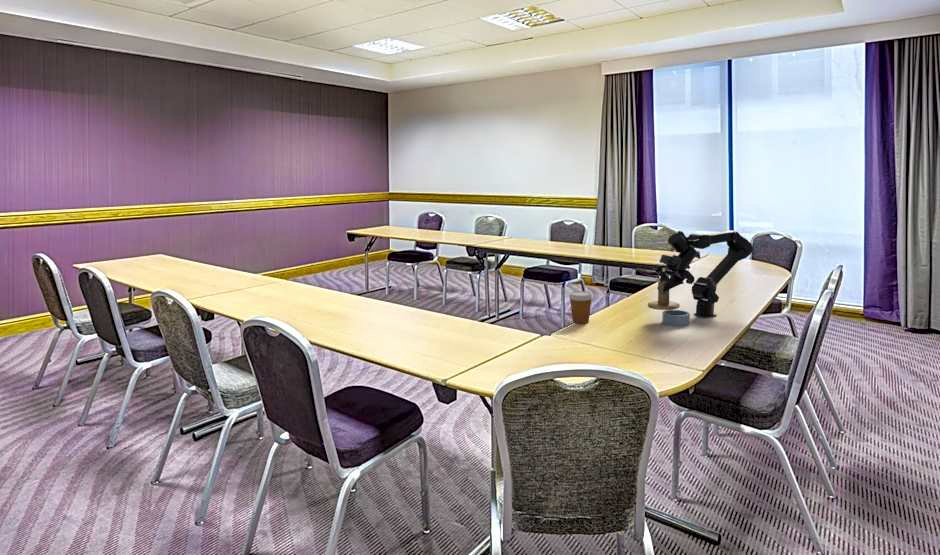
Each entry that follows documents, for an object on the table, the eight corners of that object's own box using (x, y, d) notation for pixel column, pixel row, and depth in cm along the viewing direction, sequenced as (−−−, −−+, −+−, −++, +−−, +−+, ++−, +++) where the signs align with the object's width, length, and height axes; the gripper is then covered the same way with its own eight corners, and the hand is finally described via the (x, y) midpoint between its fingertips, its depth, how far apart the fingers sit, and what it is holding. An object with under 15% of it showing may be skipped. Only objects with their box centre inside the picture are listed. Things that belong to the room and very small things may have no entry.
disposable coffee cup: (592, 325, 237) (592, 295, 235) (568, 324, 239) (568, 295, 237) (592, 319, 247) (592, 291, 244) (569, 319, 248) (569, 290, 246)
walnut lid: (665, 301, 246) (666, 277, 244) (686, 307, 235) (686, 282, 233) (641, 305, 241) (641, 281, 239) (661, 311, 230) (661, 286, 228)
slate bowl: (676, 318, 244) (677, 308, 243) (694, 323, 235) (695, 313, 234) (657, 321, 240) (657, 311, 240) (674, 327, 231) (674, 317, 231)
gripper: (656, 244, 243) (634, 274, 242) (689, 249, 226) (665, 281, 225) (672, 261, 248) (650, 290, 246) (705, 268, 231) (681, 299, 229)
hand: (660, 290), depth 236 cm, fingers closed on walnut lid, 3 cm apart
